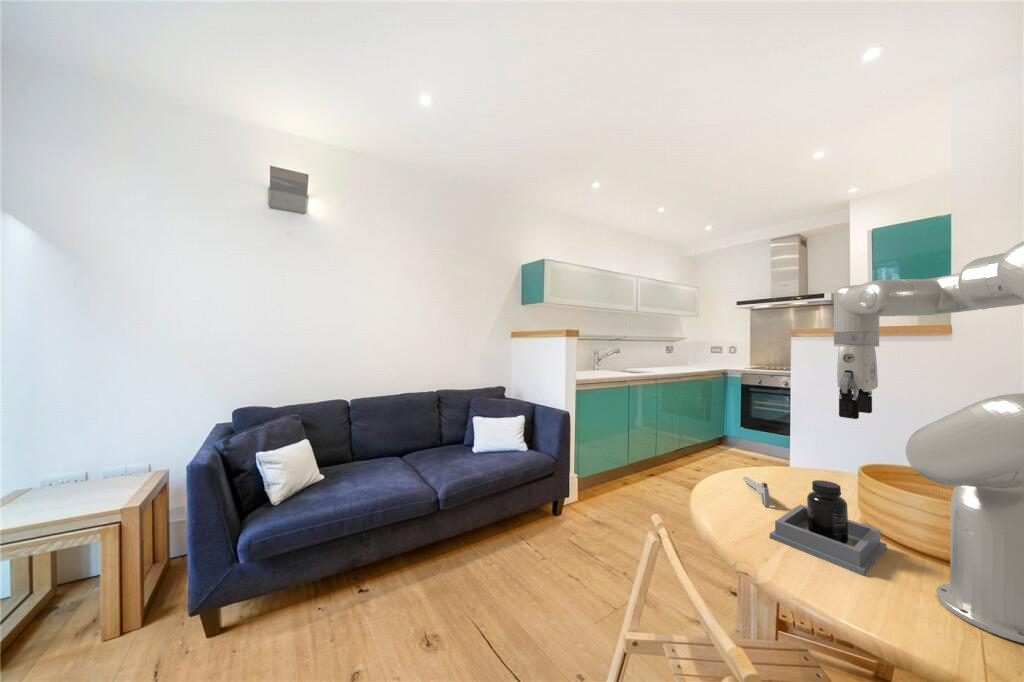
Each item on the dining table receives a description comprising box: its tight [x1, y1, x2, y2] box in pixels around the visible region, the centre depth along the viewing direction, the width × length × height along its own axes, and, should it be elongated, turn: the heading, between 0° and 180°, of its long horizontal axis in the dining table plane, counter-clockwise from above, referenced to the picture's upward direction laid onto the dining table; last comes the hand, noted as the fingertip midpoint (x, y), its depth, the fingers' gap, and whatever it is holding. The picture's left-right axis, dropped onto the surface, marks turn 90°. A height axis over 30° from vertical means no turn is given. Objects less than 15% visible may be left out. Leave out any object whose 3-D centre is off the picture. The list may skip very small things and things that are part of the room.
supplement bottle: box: [806, 479, 849, 544], centre depth 81 cm, size 7×7×12 cm
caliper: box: [742, 476, 770, 508], centre depth 108 cm, size 20×1×6 cm, turn 162°
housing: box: [769, 504, 887, 576], centre depth 81 cm, size 16×16×4 cm
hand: (855, 414), depth 83 cm, fingers open, 9 cm apart
